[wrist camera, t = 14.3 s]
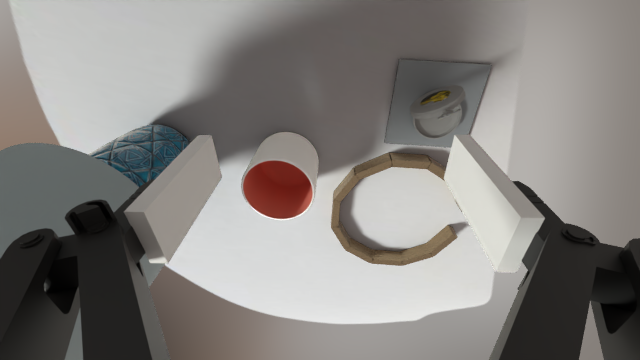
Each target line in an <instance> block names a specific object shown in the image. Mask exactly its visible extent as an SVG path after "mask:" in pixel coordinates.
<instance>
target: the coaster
mask: <svg viewBox="0 0 640 360" xmlns="http://www.w3.org/2000/svg"><path fill="white" fill-rule="evenodd" d="M491 66H492V65H490V64H475V63H458V62H442V61H425V60H408V59H399V63H398V69H397V74H396V80H395V85H394V91H393V97H392V102H391V108H390V114H389V119H388V125H387V130H386V136H385V143H390V144H405V145H420V146H435V147H450V148H451V147H452V143H453V139H454V135H468V134H469V131H470V128H471V125H472V122H473V119H474V116H475V114H476V111H477V108H478V105H479V102H480V99H481V96H482V93H483V90H484V87H485V84H486V81H487V78H488V75H489V72H490V69H491ZM450 85H459V86H461V87H462V88H463V89H464V91H465V94H466V96H465V98H464V100H463V101H462V102H461V103H460V105H461V108H462V117H461V120H460V123H459V124H458V126H457V127H456V129H455V130H454V131H453V132H451V133H450V134H449V135H447V136H445V137H442V138H439V139H428V138H425V137H423V136H421V135H420V134H419V133H418V132H417V131H416V129H415V128H414V124H413V117H412V116H411V113H410V107H411V105H412V104H413V103H414V101H416V100H417V99H418V98H420V97H421V96H423V95H424V94H426V93H428V92H430V91H433V90H435V89H438V88H441V87H445V86H450Z"/></svg>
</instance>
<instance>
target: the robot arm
mask: <svg viewBox="0 0 640 360" xmlns="http://www.w3.org/2000/svg"><path fill="white" fill-rule="evenodd" d="M221 178H222V174H221V171H220V167H219V163H218V159H217V155H216V151H215V147H214V143H213V139H212V135H198V136H197V137H196V138H195V139H194V140H193V141H192V142H191V143H190V144H189V145H188V146H187V147H186V148H185V149H184V150H183V151H182V152H181V153H180V154H179V155H178V156H177V157H176V158H175V159H174V160H173V161H172V163H171V164H170V165H169V166H168V167H167V168H166V169H165V170H164V171H163V172H162V173H161V174H160V175H159V176H158V177H157V178H156V179H151V180H150V181H148V182H146V183H145V184H143V185H141V186H140V187H139V188H138V189H137V190H136V191H135V193H134V194H132V195H131V196H130V197H129V199H127V200H126V201H125V202H124V203H123V204H122V205H121V206H120V207H119V208H118V209H117V210H116V211H115V212H114V213H113V211H112V209H111V207H110V205H109V204H108V202H107V201H105V200H92V201H88V202H85V203H82V204H80V205H77V206H76V207H74V208H72V209H71V210H70V211H69V212H68V213H67V214H66V216H65V220H66V221H67V223H68V224H69V226H70V227H71V229H72V230H73V232H74V233H75V234H73V235H68V236H63V237H58V236H57V234H56V233H55V232H54V231H53V230H52V229H48V228H44V229H37V230H34V231H30V232H28V233H26V234H23V235H21V236H20V237H19V238H17V239H16V240H14V241H13V242H12V243H11V244H10V245H9V246H8V248H7V249H6V251H5V252H4V254H3V255H2V257H1V258H0V360H65V357H66V353H67V350H68V347H69V343H70V340H71V336H72V333H73V330H74V326H75V323H76V319H77V316H78V313H79V309H80V313H81V330H82V348H83V360H171V359H170V356H169V353H168V349H167V346H166V343H165V340H164V336H163V333H162V329H161V326H160V323H159V319H158V316H157V313H156V309H155V306H154V303H153V300H152V296H151V293H150V289H149V286H148V283H147V279H146V276H145V273H144V269H143V266H142V264H141V262H140V259H141V258H142V257H143V255H144V254H146V256H147V258H148V260H149V262H150V263H166V264H168V263H169V261H170V260H171V258H172V256H173V255H174V253H175V252H176V250H177V248H178V247H179V245H180V244H181V242H182V240H183V239H184V237H185V236H186V234H187V232H188V231H189V229H190V228H191V226H192V224H193V223H194V221H195V220H196V218H197V216H198V215H199V213H200V212H201V210H202V208H203V207H204V205H205V204H206V202H207V200H208V199H209V197H210V196H211V194H212V192H213V191H214V189H215V188H216V186H217V184H218V183H219V181H220V180H221ZM444 180H445V182H446V184H447V185H448V187H449V189H450V191H451V193H452V194H453V196H454V198H455V200H456V202H457V203H458V205H459V207H460V209H461V211H462V212H463V214H464V216H465V218H466V220H467V221H468V223H469V225H470V227H471V228H472V230H473V232H474V234H475V236H476V237H477V239H478V241H479V243H480V245H481V246H482V248H483V250H484V252H485V254H486V255H487V257H488V259H489V261H490V263H491V264H492V266H493V268H494V270H495V272H513V273H516V272H517V270H518V268H519V267H520V265H521V263H522V262H523V263H524V265H525V266H526V268H527V269H528V271H527V273H526V275H525V277H524V278H523V280H522V282H521V284H520V286H519V287H518V290H519V291H518V293H517V295H516V298H515V300H514V302H513V305H512V307H511V309H510V312H509V314H508V316H507V319H506V321H505V323H504V326H503V328H502V330H501V333H500V335H499V337H498V340H497V343H496V345H495V347H494V349H493V352H492V354H491V356H490V359H489V360H579V356H580V350H581V345H582V340H583V334H584V329H585V324H586V319H587V314H588V308H589V303H590V301H591V305H592V309H593V313H594V318H595V323H596V327H597V331H598V336H599V340H600V344H601V349H602V353H603V357H604V360H640V238H639V239H632V240H631V241H629V243H628V244H627V245H626V246H625V247H624V248H622V247H617V246H612V245H608V244H603V243H600V242H599V240H598V239H597V238H596V237H595V236H594V235H593V234H592V233H590V232H589V231H587V230H585V229H583V228H581V227H578V226H575V225H571V224H565V223H564V222H563V221H561V219H560V218H559V217H558V216H557V215H556V214H555V213H554V212H553V211H552V210H551V209H550V208H549V207H548V206H547V205H546V204H544V202H543V201H542V200H541V199H540V198H539V197H538V196H537V195H536V194H535V192H534V191H533V190H531V189H530V188H529V187H528V186H526V185H524V184H523V183H521V182H519V181H511V180H510V179H509V178H508V176H507V175H506V174H505V173H504V172H503V171H502V170H501V169H500V168H499V167H498V165H497V164H496V163H495V162H494V161H493V160H492V159H491V158H490V157H489V156H488V154H487V153H486V152H485V151H484V150H483V149H482V148H481V147H480V146H479V144H478V143H477V142H476V141H475V140H474V139H473V138H472V137H471V136H470V135H454V139H453V143H452V147H451V151H450V155H449V159H448V163H447V167H446V171H445V175H444Z"/></svg>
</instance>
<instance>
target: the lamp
mask: <svg viewBox="0 0 640 360" xmlns="http://www.w3.org/2000/svg"><path fill="white" fill-rule="evenodd" d="M189 144H190V143H189V141H188V140H187V139H186V138H185V137H184V136H183V135H182V134H181V133H180V132H178V131H177V130H175V129H173V128H171V127H168V126H165V125H157V124H153V125H147V126H142V127H140V128H137V129H135V130H132V131H130V132H128V133H126V134H124V135H122V136H120V137H118V138H116V139H115V140H113V141H111V142H109V143H107V144H106V145H104V146H102V147H100V148H98V149H97V150H95V151H93V152H92V153H90V154H89V155H87V154H85V153H82V152H80V151H77V150H74V149H70V148H67V147H63V146H58V145H52V144H44V143H26V144H19V145H14V146H11V147H8V148H6V149H3V150H1V151H0V258H1V257H2V255H3V254H4V252H5V251H6V249H7V248H8V246H9V245H10V244H11V243H12V242H13V241H14V240H16V239H17V238H19V237H20V236H21V235H23V234H26V233H28V232H30V231H34V230H37V229H44V228H48V229H52V230H53V231H54V232H55V233H56V234H57V236H58V237H63V236H68V235H73V234H75V233H74V232H73V230H72V229H71V227H70V226H69V224H68V223H67V221H66V220H65V216H66V214H67V213H68V212H69V211H70V210H71V209H72V208H74V207H76V206H77V205H80V204H82V203H85V202H88V201H92V200H105V201H107V202H108V204H109V205H110V207H111V209H112V211H113V213H114V212H115V211H116V210H117V209H118V208H119V207H120V206H121V205H122V204H123V203H124V202H125V201H126V200H127V199H129V197H130V196H131V195H132V194H134V193H135V191H136V190H137V189H138V188H139V187H140V186H141V185H143V184H145V183H146V182H148V181H150V180H151V179H156V178H157V177H158V176H159V175H160V174H161V173H162V172H163V171H164V170H165V169H166V168H167V167H168V166H169V165H170V164H171V163H172V161H173V160H174V159H175V158H176V157H177V156H178V155H179V154H180V153H181V152H182V151H183V150H184V149H185V148H186V147H187V146H188V145H189ZM140 262H141V264H142V266H143V269H144V273H145V276H146V279H147V283H148V286H149V287H150V285H151V284H152V282H153V281H154V279H155V278H156V276H157V275H158V273H159V272H160V270H161V269H162V267H163V266H164V265H165V263H150V262H149V260H148V258H147V256H146V254H144V255H143V257H142V258H141V259H140ZM65 360H83V348H82V330H81V313H80V309H79V313H78V316H77V319H76V323H75V326H74V330H73V333H72V336H71V340H70V343H69V347H68V350H67V353H66V357H65Z"/></svg>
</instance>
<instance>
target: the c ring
mask: <svg viewBox="0 0 640 360" xmlns="http://www.w3.org/2000/svg"><path fill="white" fill-rule="evenodd" d="M390 167H403V168H418V169H428V170H429V171H431V172H432V173H434V174H435V175H437V176H438V177H440V178H441V179H443V180H444V175H445V171H446V168H445V167H444V166H443V165H441V164H440V163H438V162H437V161H435V160H434V159H432V158H431V157H429V156H428V155H419V154H404V153H386V154H384V155H382V156H379V157H377V158H374V159H372V160H369V161H367V162H365V163H362V164H360V165H357V166H355V168H353V169H352V170H351V171H350V172H349V174H348V175H347V176H346V177H345V179H344V180H343V181H342V182H341V183H340V185H339V186H338V187H337V188H336V190H335V191H334V194H333V205H332V217H331V228H332V230H333V232H334V233H335V235H336V236H337V238H338V239H339V241H340V243H341V244H342V246H343V247H344V249H345V250H346V251H348V252H350V253H352V254H354V255H356V256H357V257H359V258H361V259H363V260H365V261H367V262H369V263H372V264H385V265H398V266H402V265H407V264H410V263H413V262H417V261H420V260H424V259H427V258H431V257H433V256H435V255H436V254H437V253H439V252H440V251H441V250H442V249H444V248H445V247H446V246H447V245H449V244H450V243H451V242H452V241H454V240H455V239H456V238H457V235H456V233H455V231H454V229H453V228H452V227H451V226H449V225H447V226H446V227H445V228H444V229H443V230H441V231H440V232H439V233H438V234H437V235H436V236H434V237H433V238H432V239H431V240H430V241H428V242H427V243H426V244H422V245H419V246H416V247H413V248H409V249H406V250H403V251H400V252H398V251H385V250H372V249H370V248H368V247H366V246H364V245H363V244H361V243H359V242H357V241H355V240H353V239H351V238H350V237H349V235H348V234H347V232H346V230H345V229H344V227H343V225H342V224H341V222H340V220H339V211H340V202H341V201H342V200H343V199H344V197H345V196H346V195H347V194H348V193H349V192H350V190H351V189H352V188H353V187H354V186H355V185H356V183H357V182H358V181H359V180H360V179H363V178H365V177H368V176H370V175H373V174H375V173H378V172H380V171H383V170H385V169H388V168H390ZM444 181H445V180H444ZM455 201H456V200H455ZM456 204H457V205H458V203H457V202H456ZM458 207H459V205H458ZM459 209H460V207H459ZM460 210H461V209H460ZM461 212H462V211H461Z"/></svg>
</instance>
